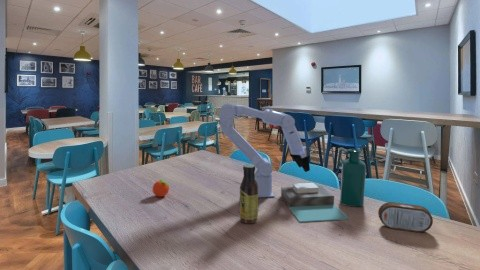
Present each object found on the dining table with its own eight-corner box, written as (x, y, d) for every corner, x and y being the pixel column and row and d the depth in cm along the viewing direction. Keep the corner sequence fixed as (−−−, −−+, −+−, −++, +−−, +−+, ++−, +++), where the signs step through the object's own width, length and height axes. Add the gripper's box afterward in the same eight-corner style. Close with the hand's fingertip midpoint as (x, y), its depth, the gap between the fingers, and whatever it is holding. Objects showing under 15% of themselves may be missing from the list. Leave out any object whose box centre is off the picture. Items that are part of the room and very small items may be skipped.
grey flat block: (289, 207, 103) (289, 198, 103) (281, 196, 115) (281, 187, 115) (333, 205, 105) (334, 195, 105) (321, 194, 117) (321, 185, 117)
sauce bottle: (239, 216, 96) (238, 162, 93) (256, 216, 97) (256, 162, 94) (240, 225, 90) (240, 167, 87) (259, 224, 90) (259, 167, 87)
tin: (429, 230, 86) (432, 205, 84) (432, 235, 83) (435, 209, 82) (377, 223, 91) (379, 199, 90) (378, 227, 88) (380, 203, 87)
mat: (299, 222, 92) (299, 221, 92) (289, 207, 103) (289, 206, 103) (349, 219, 94) (349, 218, 94) (333, 205, 105) (333, 204, 105)
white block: (297, 193, 108) (297, 188, 108) (292, 188, 114) (292, 183, 113) (318, 192, 109) (318, 187, 108) (312, 187, 115) (313, 182, 114)
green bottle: (361, 199, 111) (365, 147, 108) (364, 207, 103) (367, 151, 100) (336, 196, 114) (339, 146, 111) (337, 204, 106) (339, 150, 103)
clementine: (174, 195, 118) (174, 179, 117) (164, 200, 111) (163, 184, 110) (160, 192, 121) (159, 177, 120) (149, 197, 115) (148, 181, 114)
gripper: (308, 139, 108) (319, 169, 110) (296, 134, 123) (306, 161, 125) (292, 146, 108) (303, 176, 110) (282, 140, 122) (293, 167, 124)
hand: (304, 168), depth 117 cm, fingers open, 7 cm apart
